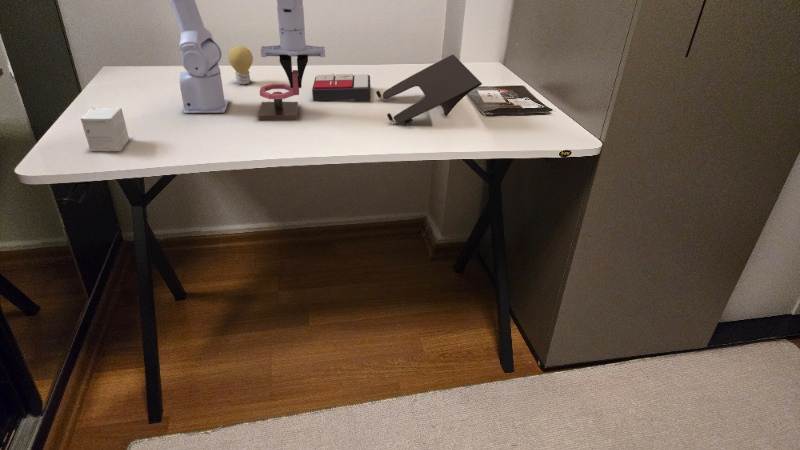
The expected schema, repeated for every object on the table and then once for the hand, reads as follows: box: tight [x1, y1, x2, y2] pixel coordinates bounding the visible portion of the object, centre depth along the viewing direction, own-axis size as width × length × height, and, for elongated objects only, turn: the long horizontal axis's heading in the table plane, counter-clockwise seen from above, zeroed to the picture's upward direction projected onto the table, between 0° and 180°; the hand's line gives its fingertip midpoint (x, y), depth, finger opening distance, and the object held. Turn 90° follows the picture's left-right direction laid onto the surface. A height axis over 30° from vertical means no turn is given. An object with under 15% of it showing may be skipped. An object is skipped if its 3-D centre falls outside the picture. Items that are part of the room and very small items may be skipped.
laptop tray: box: [375, 54, 483, 125], centre depth 133 cm, size 23×23×9 cm
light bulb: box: [227, 45, 254, 85], centre depth 143 cm, size 6×6×10 cm
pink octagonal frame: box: [259, 69, 300, 100], centre depth 125 cm, size 9×8×5 cm
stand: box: [258, 91, 299, 121], centre depth 128 cm, size 9×9×5 cm
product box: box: [80, 107, 130, 152], centre depth 109 cm, size 6×6×7 cm
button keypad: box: [311, 73, 371, 103], centre depth 141 cm, size 11×4×15 cm
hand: (296, 86), depth 126 cm, fingers closed on pink octagonal frame
